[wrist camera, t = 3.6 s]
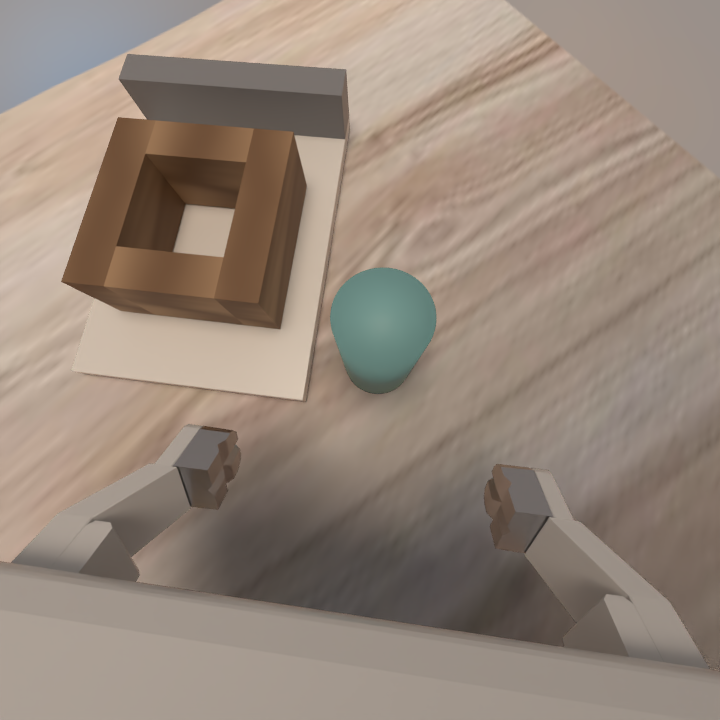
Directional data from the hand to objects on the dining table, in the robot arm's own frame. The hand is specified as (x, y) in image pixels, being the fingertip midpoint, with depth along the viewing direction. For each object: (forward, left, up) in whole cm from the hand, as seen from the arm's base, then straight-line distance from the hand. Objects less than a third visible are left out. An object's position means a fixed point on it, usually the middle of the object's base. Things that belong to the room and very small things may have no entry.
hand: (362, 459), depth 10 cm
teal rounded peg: (0, -5, -9) cm, 10 cm away
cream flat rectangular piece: (+11, -12, -9) cm, 19 cm away
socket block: (+11, -11, -8) cm, 17 cm away
